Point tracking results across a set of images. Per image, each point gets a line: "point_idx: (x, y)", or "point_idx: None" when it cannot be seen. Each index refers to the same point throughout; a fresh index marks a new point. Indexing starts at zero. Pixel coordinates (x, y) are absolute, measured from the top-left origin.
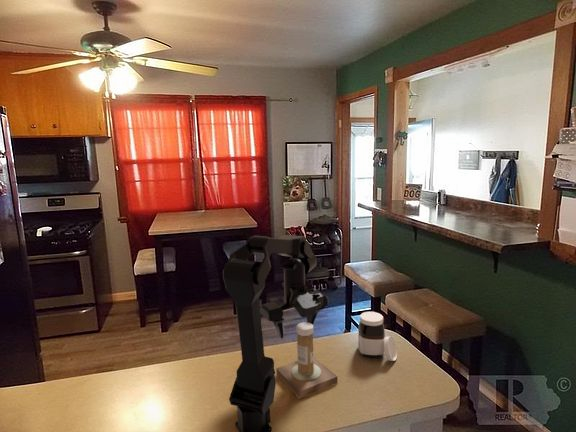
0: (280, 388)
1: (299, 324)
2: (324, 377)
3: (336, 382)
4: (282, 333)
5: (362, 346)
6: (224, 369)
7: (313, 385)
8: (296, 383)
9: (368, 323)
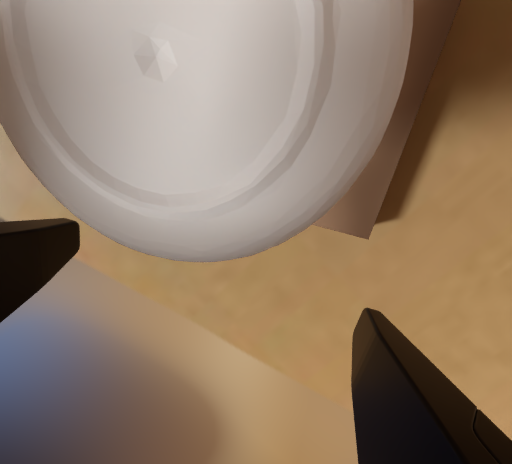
0: (437, 137)
1: (229, 202)
2: None
3: None
4: (393, 341)
5: None
6: (476, 400)
7: None
8: (410, 56)
9: None
